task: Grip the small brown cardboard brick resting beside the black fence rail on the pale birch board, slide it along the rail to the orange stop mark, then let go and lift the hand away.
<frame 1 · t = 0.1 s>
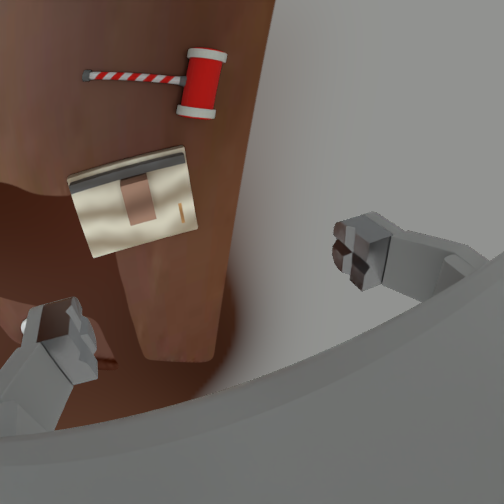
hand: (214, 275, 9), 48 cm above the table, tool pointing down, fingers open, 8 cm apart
board: (133, 200, 54), on the table
brown cardboard brick: (137, 192, 52), point 2 cm above the table, touching board
toy hammer: (163, 81, 46), on the table
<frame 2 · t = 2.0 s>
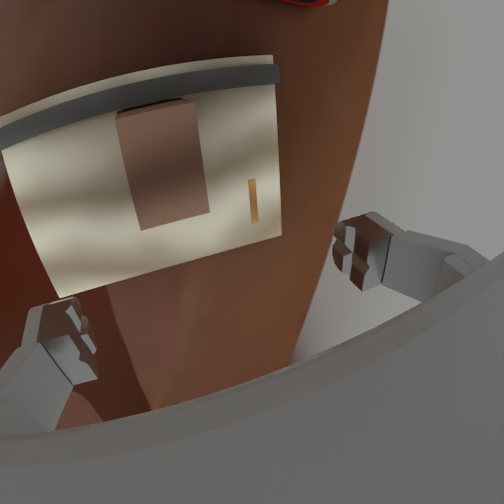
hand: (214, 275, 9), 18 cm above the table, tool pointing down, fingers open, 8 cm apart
board: (146, 171, 24), on the table
brown cardboard brick: (156, 150, 21), point 2 cm above the table, touching board
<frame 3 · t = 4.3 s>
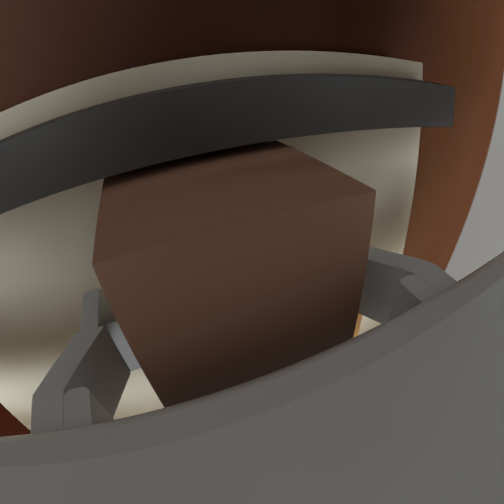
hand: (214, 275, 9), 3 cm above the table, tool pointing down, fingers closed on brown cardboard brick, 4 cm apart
board: (175, 275, 13), on the table
brown cardboard brick: (203, 252, 10), point 2 cm above the table, touching board, gripper
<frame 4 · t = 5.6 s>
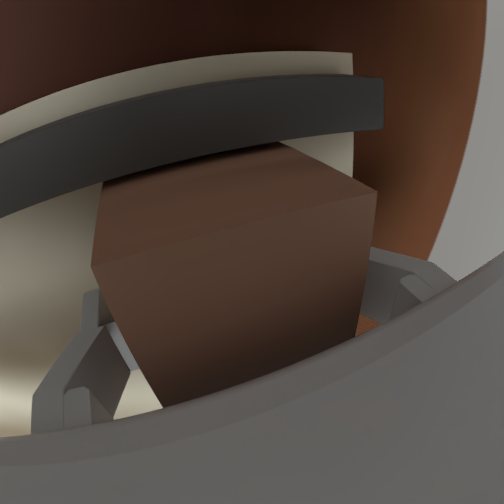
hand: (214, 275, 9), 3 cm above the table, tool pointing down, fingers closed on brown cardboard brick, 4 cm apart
board: (92, 301, 12), on the table
brown cardboard brick: (203, 253, 10), point 2 cm above the table, touching gripper
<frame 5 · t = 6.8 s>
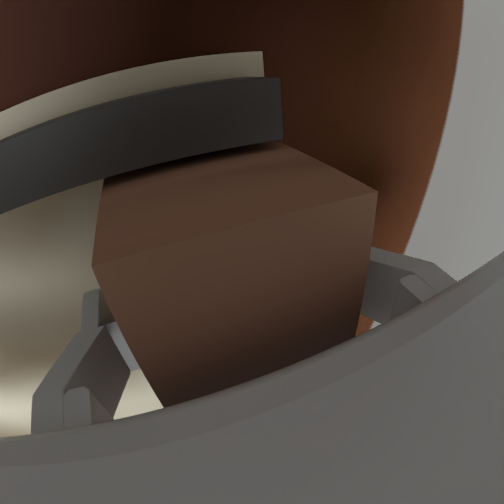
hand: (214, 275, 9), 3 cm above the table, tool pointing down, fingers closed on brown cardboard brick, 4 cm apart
board: (27, 317, 11), on the table
brown cardboard brick: (203, 253, 10), point 2 cm above the table, touching gripper
when the fingers open (3 cm above the table, at t = 7.4 s): brown cardboard brick stays where it is, resting on board.
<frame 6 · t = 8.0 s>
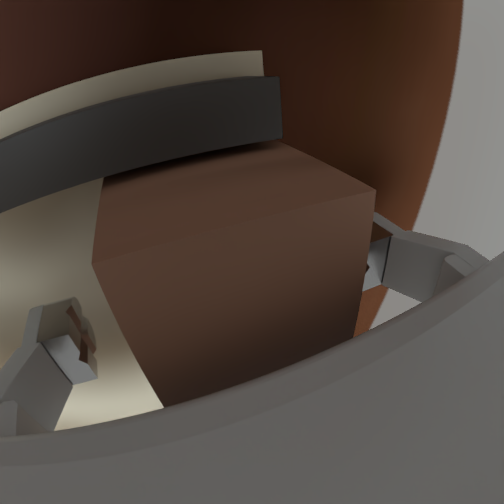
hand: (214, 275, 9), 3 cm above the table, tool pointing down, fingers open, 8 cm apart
board: (27, 317, 11), on the table
brown cardboard brick: (202, 251, 10), point 2 cm above the table, touching board
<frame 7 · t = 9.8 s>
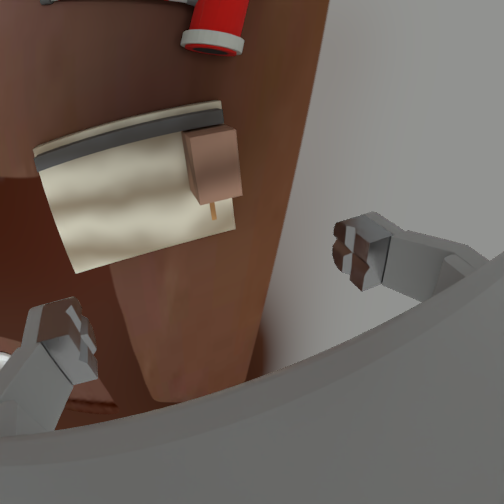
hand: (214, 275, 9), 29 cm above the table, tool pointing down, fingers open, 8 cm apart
board: (137, 184, 35), on the table
brown cardboard brick: (205, 156, 34), point 2 cm above the table, touching board
toy hammer: (162, 3, 25), on the table
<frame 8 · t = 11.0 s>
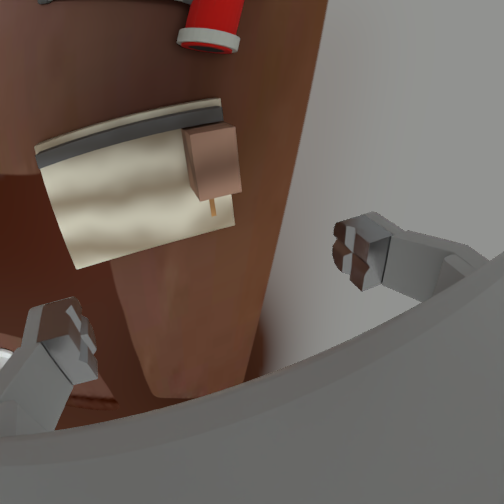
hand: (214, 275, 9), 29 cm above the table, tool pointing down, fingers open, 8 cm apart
board: (138, 181, 35), on the table
brown cardboard brick: (204, 153, 34), point 2 cm above the table, touching board
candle: (7, 361, 39), on the table
toy hammer: (158, 1, 25), on the table
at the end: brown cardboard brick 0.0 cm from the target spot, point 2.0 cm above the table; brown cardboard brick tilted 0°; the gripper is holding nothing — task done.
